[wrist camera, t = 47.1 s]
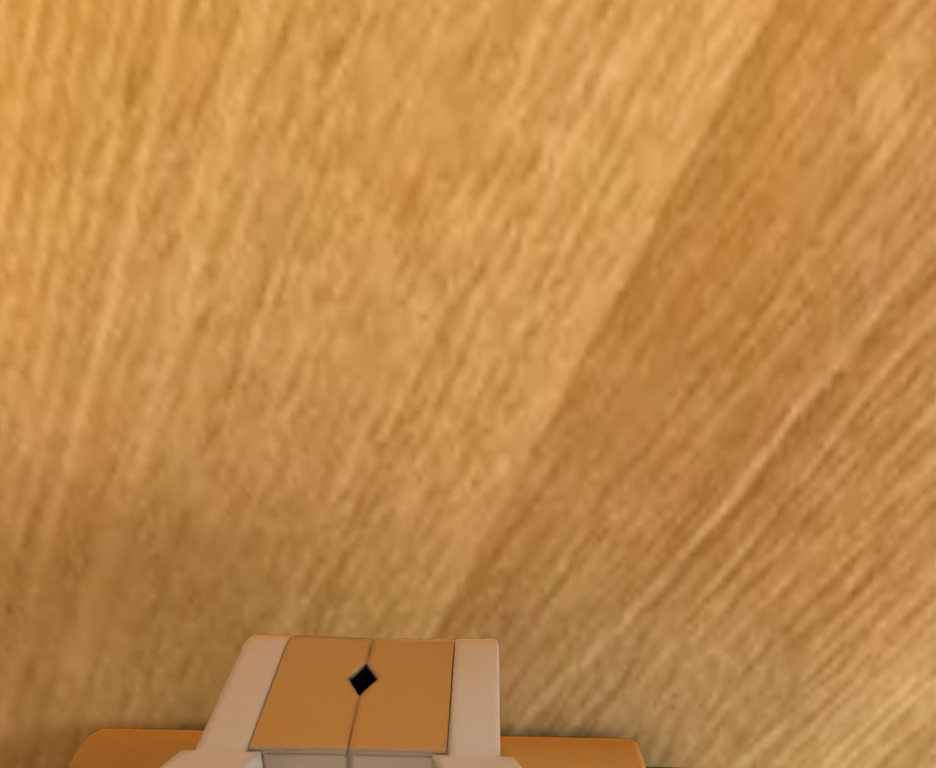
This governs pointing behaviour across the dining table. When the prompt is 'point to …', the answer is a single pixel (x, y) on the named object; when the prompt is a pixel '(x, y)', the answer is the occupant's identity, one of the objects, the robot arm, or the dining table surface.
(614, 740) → the drawer
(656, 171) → the dining table surface
